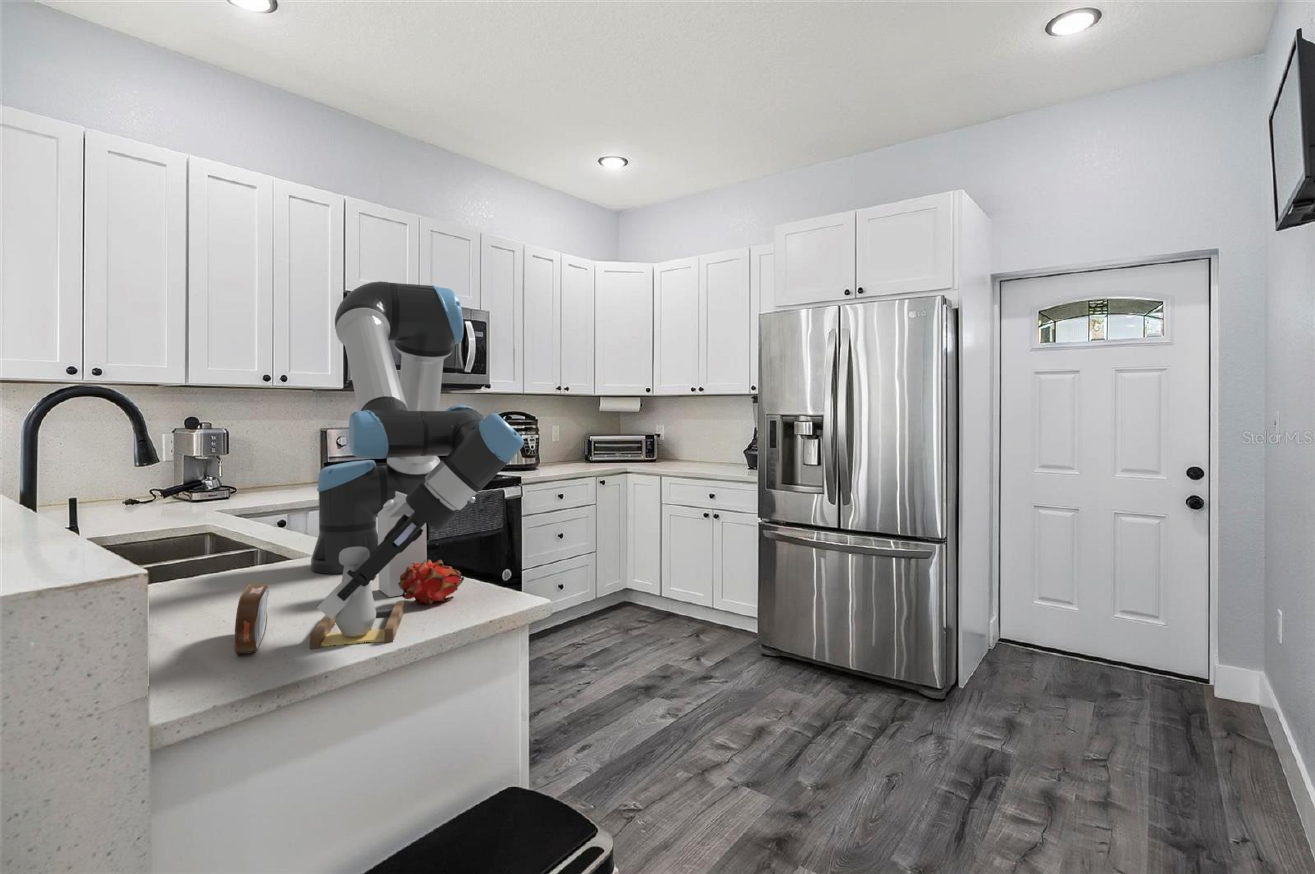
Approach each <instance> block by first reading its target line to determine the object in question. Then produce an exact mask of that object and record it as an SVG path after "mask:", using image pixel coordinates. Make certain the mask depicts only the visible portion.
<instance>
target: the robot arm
mask: <svg viewBox="0 0 1315 874" xmlns="http://www.w3.org/2000/svg"><path fill="white" fill-rule="evenodd" d="M335 312H336V313H335V316H334V327H335V328H334V329H335V333H336V337H337V339H338V340H339V342H340V343H341V344H342V345H343V346H344V347H345V353H346V356H347V361H348V362H347V363H348V368H349V371H350V376H351V381H352V385H353V390H354V395H355V399H356V405H357V408H358V409H357V410H358V411H354V412H352V413H351V414H350V416H349V421H348V439H349V449H350V453H351V454H352V456H354V457H356V458H359V459H365V460H355V461H349V462H347V461H346V462H343V463H337V464H332V465H328V466H325V467H324V468H322V469H320V471H319V473H318V478H317V479H318V480H317V481H318V482H317V483H318V484H317V489H316V491H317V492H318V531H319V532H318V537H317V540H316V543H315V547H314V549H313V552H312V555H311V559H310V570H311V571H312V572H314V573H319V574H333V575H334V574H335V575H336V574H343V571H344V565H341V564H340V562H339V553H340V552H341V551H342V550H343V549H346V548H349V547H365V548H367V549H368V550H369V552H370V557H369V558H368V559H367V560H366V561H365V562H364V563H363V564H362V565H361V566H360V567H359V568H358V569H357V570H356V571H355V572H352V571H351V570H349V571H348V572H347V574H348V575H349V576H348V577H347V578H346V579H345V580H344V581H343V582H342V581H341V582H342V583H341V582H340V583H339V584H338V585H337V586H336V587H334V589H333V590H331V592H330V593H329V594H328V595H327V596H326V597H325V598H324V599H323V600H322V602H321V603H320V604H319V605H318V606H317V608H316V609H318V610H319V611H321V612H322V614H324V616H325V615H327V616H328V617H329V618H330V619H332V618H333V617H334V616H335V615H336V614H337V613H338V612H339V611H340V610H341V609H342V608H343V607H344V606H345V605H346V604H347V602H348V601H349V600H350V598H351V596H352V594H353V596H355V595H356V594H357V593H358V592H359V591H360V590H361V589H362V588H363V587H365V586H366V585H368V584H369V582H370V583H371V581H372V582H373V581H374V580H375V579H376V578H377V575H379V572H380V571H381V570H382V569H383V568H384V567H385V566H386V565H387V564H388V563H389V562H390V561H391V560H392V559H393V558H394V557H395V556H396V555H397V554H398V553H401V552H403V551H404V550H405V549H406V548H407V547H408V546H409V545H410V543H411V542H413V541H416V540H417V539H418V538H419V537H420V536H421V534H422V532H423V531H424V530H422V529H421V527H422V526H423V525H424V524H425V523H426V524H429V525H430V527H431V528H434V529H435V530H443V529H444V528H445V527H446V526H447V525H448V524H449V523H450V522H451V521H452V520H453V519H454V518H455V517H456V515H457V511H461V510H462V509H463V508H464V507H465V506H466V505H467V504H468V502H469V503H470V504H474V503H475V502H476V497H475V496H476V495H477V494H478V493H479V492H480V491H481V490H482V489H484V487H486V486H487V484H489V482H491V480H492V479H494V478H495V477H496V476H497V474H499V473H500V472H501V470H503V469H504V468H505V466H507V464H509V463H510V462H512V460H513V459H514V457H515V456H516V455H517V454H518V452H519V451H520V450H521V449H522V448H523V447H524V444H525V441H524V438H523V437H522V436H521V435H520V434H519V433H518V432H517V431H516V430H515V429H514V428H513V427H512V426H511V425H510V424H509V423H508V422H507V421H505V419H503V418H502V416H500V414H498V413H496V412H492V413H490V414H489V415H487V416H486V417H485V416H484V415H483V414H482V413H481V412H479V411H477V409H474V408H473V407H471V406H469V405H465V404H455V405H453V406H450V407H449V408H447V409H446V410H439V409H440V402H441V401H440V400H441V389H442V380H443V379H442V377H443V369H444V361H445V359H446V358H448V357H449V356H451V354H452V352H453V345H458V344H460V343H462V340H463V338H464V318H463V309H462V306H461V302H460V300H459V296H458V295H457V294H456V292H455V291H454V290H453V289H451V288H446V287H440V286H435V285H429V284H413V283H401V282H400V283H398V282H389V281H382V280H381V281H373V282H372V281H371V282H369V283H364V284H362V285H360V286H358V287H356V288H355V289H353V290H352V291H351V292H349V293H348V294H347V295H346V296H345V297H344V298H343V300H342V301H341V302H340V304H339V306H338V307H337V309H336V311H335ZM389 341H394V349H396V351H397V352H398V353H399V354H400V355H401V357H400V358H401V359H400V374H398V370H397V368H396V363H395V360H394V356H393V352H392V349H391V346H390V342H389ZM440 456H441V457H442V456H446V457H444V458H443V459H442V460H441V459H440ZM372 459H377V460H378V459H379V460H380V459H386V465H377V464H376V462H375V460H372ZM395 492H400V493H403V494H406V495H407V496H406V502H407V504H408V505H409V506H410V508H412V509H413V510H414V512H413V513H412V514H411V515H410V516H406V515H405V514H404V515H403V516H402V517H401V518H400V519H399V520H398V521H397V523H396V525H395V526H394V527H393V528H392V529H391V530H390V531H389V532H388V533H387V535H386V536H385V537H384V540H383V541H382V542H381V543H380V544H379V545H378V529H377V518H378V513H379V512H380V511H381V510H382V509H383V505H384V504H385V503H386V502H387V501H389V500H391V499H392V500H393V499H394V498H395ZM456 510H457V511H456Z"/></svg>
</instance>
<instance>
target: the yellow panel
mask: <svg viewBox="0 0 1315 874" xmlns="http://www.w3.org/2000/svg"><path fill="white" fill-rule="evenodd" d="M384 629H385V628H375V629H371V630H370V631H369V632H368V633H367V634H363V635H358V636H343V635H342V633H341V631H339V632H338V631H337V632H330V633H328V634H327V635H326V637H325V638H324V640H323V641H322V643H321V646H324V647H333V645H336V646H345V645H344V644H348V645H357V643H360V644H367V643H366V642H371V643H381V642H385V640H384ZM364 642H365V643H364ZM342 644H343V645H342ZM330 645H331V646H330ZM321 646H320V647H321Z"/></svg>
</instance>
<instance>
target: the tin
mask: <svg viewBox="0 0 1315 874" xmlns="http://www.w3.org/2000/svg"><path fill="white" fill-rule="evenodd" d="M269 592H270V591H269V586H268V585H267V584H263V583H262V584H261V583H260V584H250V583H248V585H247V586H246V588H245V590H244V591H243V592H242V594H241V595H240V598H239V600H238V604H237V609H236V616H235V624H234V653H235V654H236V655H240V654H251V653H256V652H258V650H259V648H260V646H261V644H262V643H263V640H264V637H265V636H266V635H265V633H266V629H267V624H268V610H267V607H268V597H269Z"/></svg>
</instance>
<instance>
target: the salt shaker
mask: <svg viewBox="0 0 1315 874" xmlns="http://www.w3.org/2000/svg"><path fill="white" fill-rule="evenodd" d="M369 557H370V552H369V550H368V549H367V548H365V547H349V548H346V549H343V550H342V551H341V552H340V553H339V562H340V564H341V565H344V571H343V573H342V579H341V582H340V583H342V582H343V581H344V580H345V579H346V578H347V577H348V576H349V575H348V574H347V572H348V571H349V570H351V571H352V572H355V571H356V570H357V569H358V568H359V567H360V566H361V565H362V564H363V563H364V562H365V561H366V560H367V559H368V558H369ZM371 585H372V584H371V581H370V582H369V584H368V585H366V586H365V587H363V588H362V589H361V590H360V591H359V592H358V593H357V594H356V595H355V596H353V594H352V596H351V598H350V600H349V601H348V602H347V604H346V605H345V606H344V607H343V608H342V609H341V610H340V611H339V612H338V613H337V614H336V615H335V623H336V624H335V625H336V626H337V627H338V629H339V630H340V631H339V632H341V633H342V635H343V636H358V635H363V634H367V633H368V632H369V631H370V630H373V629H372V628H373V627H374V623H375V620H376V618H377V617H376V610H377V609H376V605H375V599H374V596H373V591H372V586H371Z"/></svg>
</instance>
